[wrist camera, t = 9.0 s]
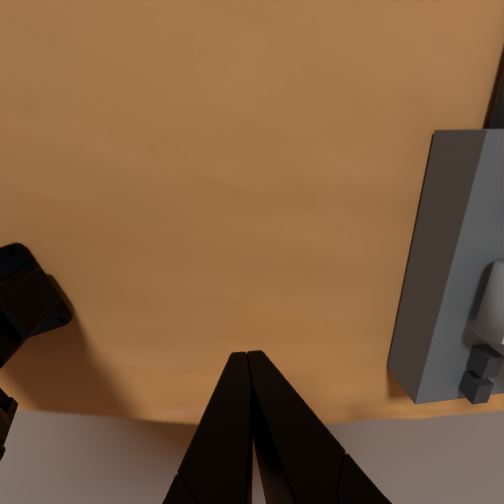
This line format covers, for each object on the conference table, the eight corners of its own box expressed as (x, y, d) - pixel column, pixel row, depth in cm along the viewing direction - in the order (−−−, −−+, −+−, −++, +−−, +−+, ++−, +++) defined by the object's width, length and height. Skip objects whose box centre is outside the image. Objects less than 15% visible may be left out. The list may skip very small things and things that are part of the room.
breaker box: (387, 366, 27) (426, 420, 22) (464, -19, 16) (574, -84, 11) (468, 357, 28) (523, 407, 23) (592, -16, 17) (746, -75, 12)
